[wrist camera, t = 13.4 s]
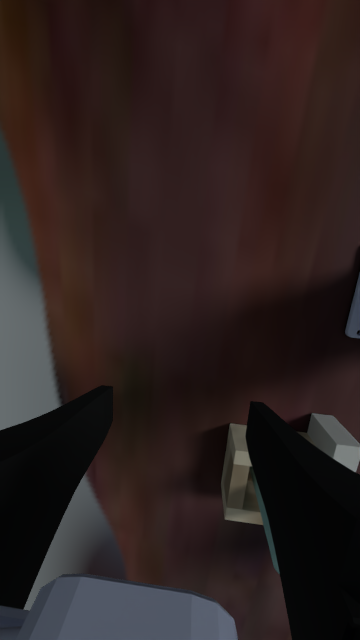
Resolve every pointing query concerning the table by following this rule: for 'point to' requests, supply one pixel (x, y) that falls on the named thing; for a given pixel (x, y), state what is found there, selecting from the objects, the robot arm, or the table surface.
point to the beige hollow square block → (240, 479)
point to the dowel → (265, 520)
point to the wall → (334, 440)
